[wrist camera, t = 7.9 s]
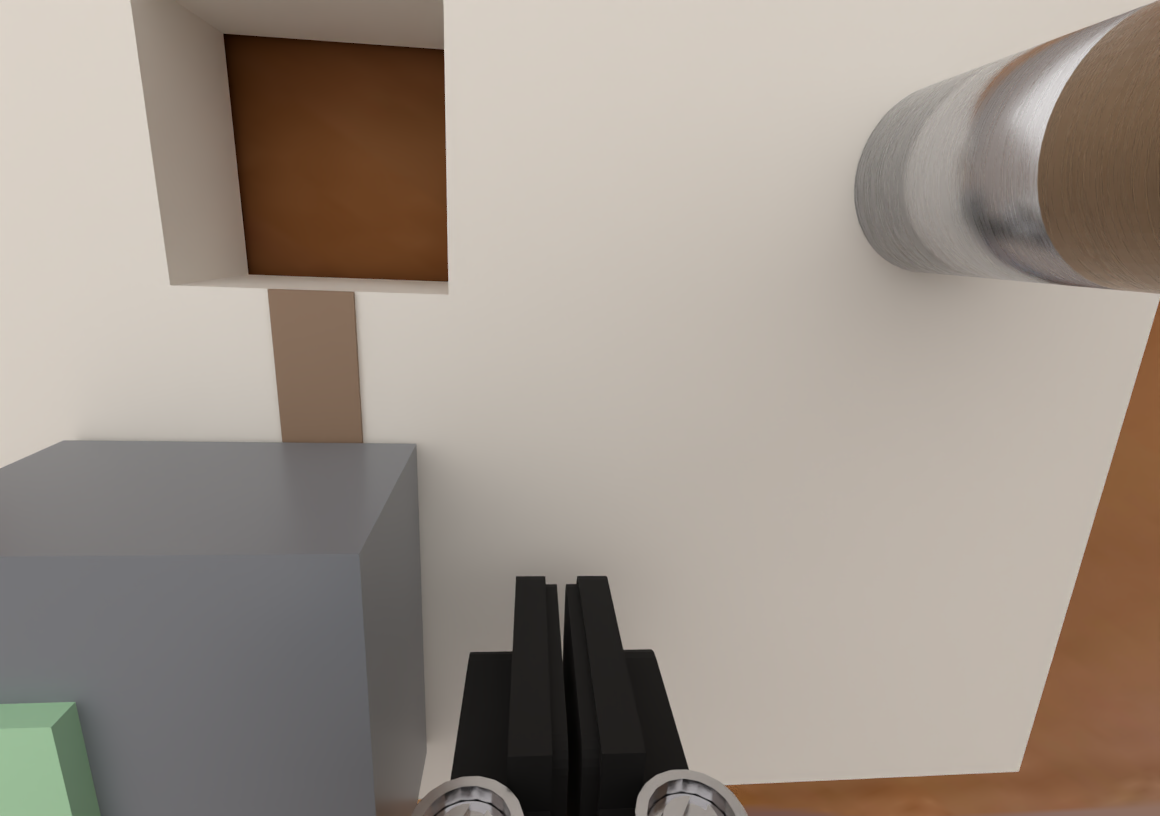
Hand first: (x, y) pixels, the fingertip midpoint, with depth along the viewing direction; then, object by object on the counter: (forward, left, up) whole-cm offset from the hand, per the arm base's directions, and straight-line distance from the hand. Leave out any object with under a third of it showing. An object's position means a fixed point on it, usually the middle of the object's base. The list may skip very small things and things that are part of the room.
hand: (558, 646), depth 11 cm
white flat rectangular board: (-1, -4, -5) cm, 6 cm away
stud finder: (+6, 0, -2) cm, 6 cm away
